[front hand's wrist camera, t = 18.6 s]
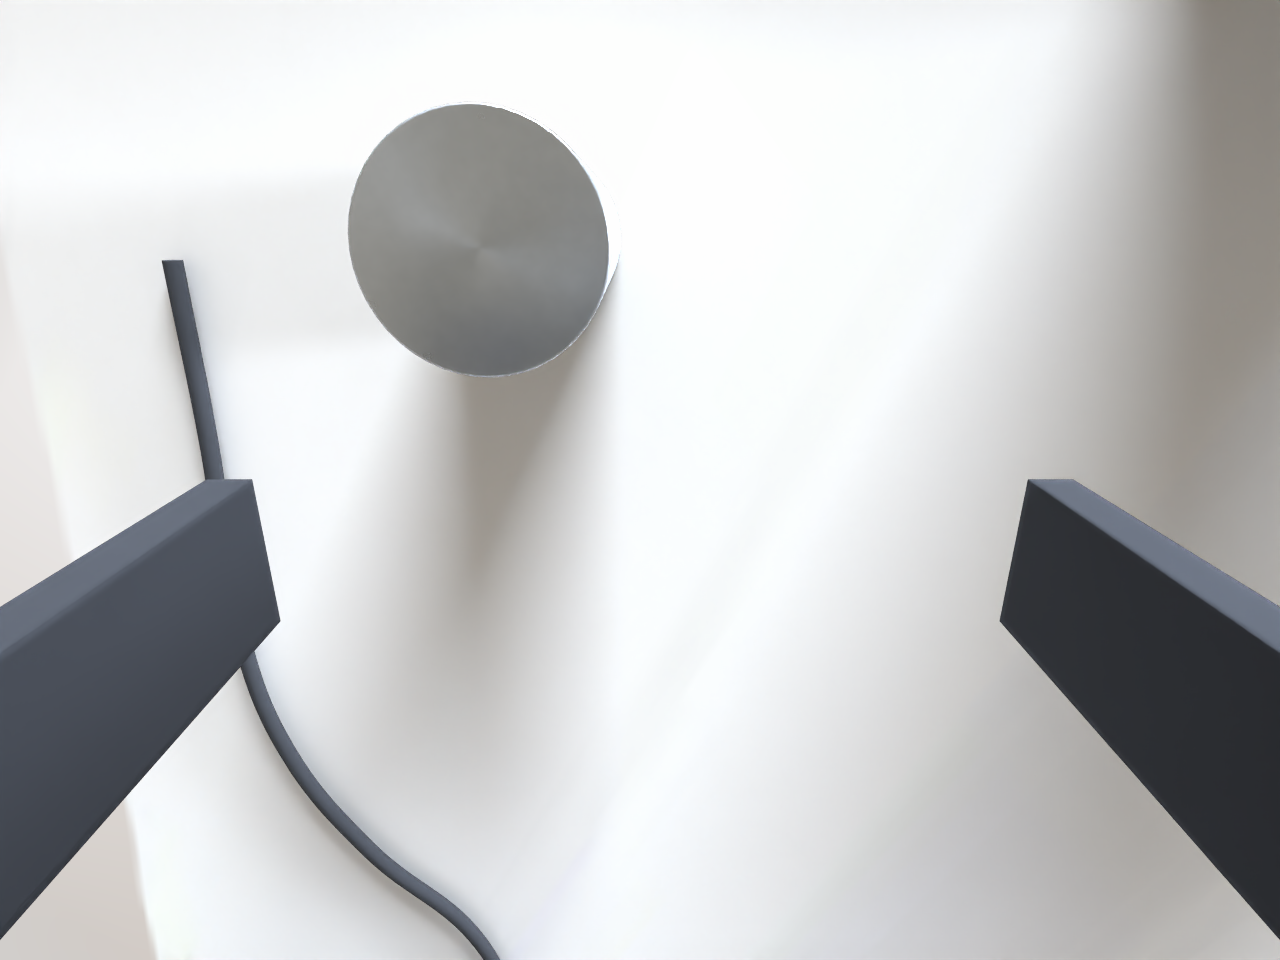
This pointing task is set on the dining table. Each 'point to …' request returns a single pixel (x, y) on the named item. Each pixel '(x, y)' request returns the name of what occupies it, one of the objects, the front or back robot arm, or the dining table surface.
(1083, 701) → the front robot arm
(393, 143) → the canister
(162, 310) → the dining table surface
